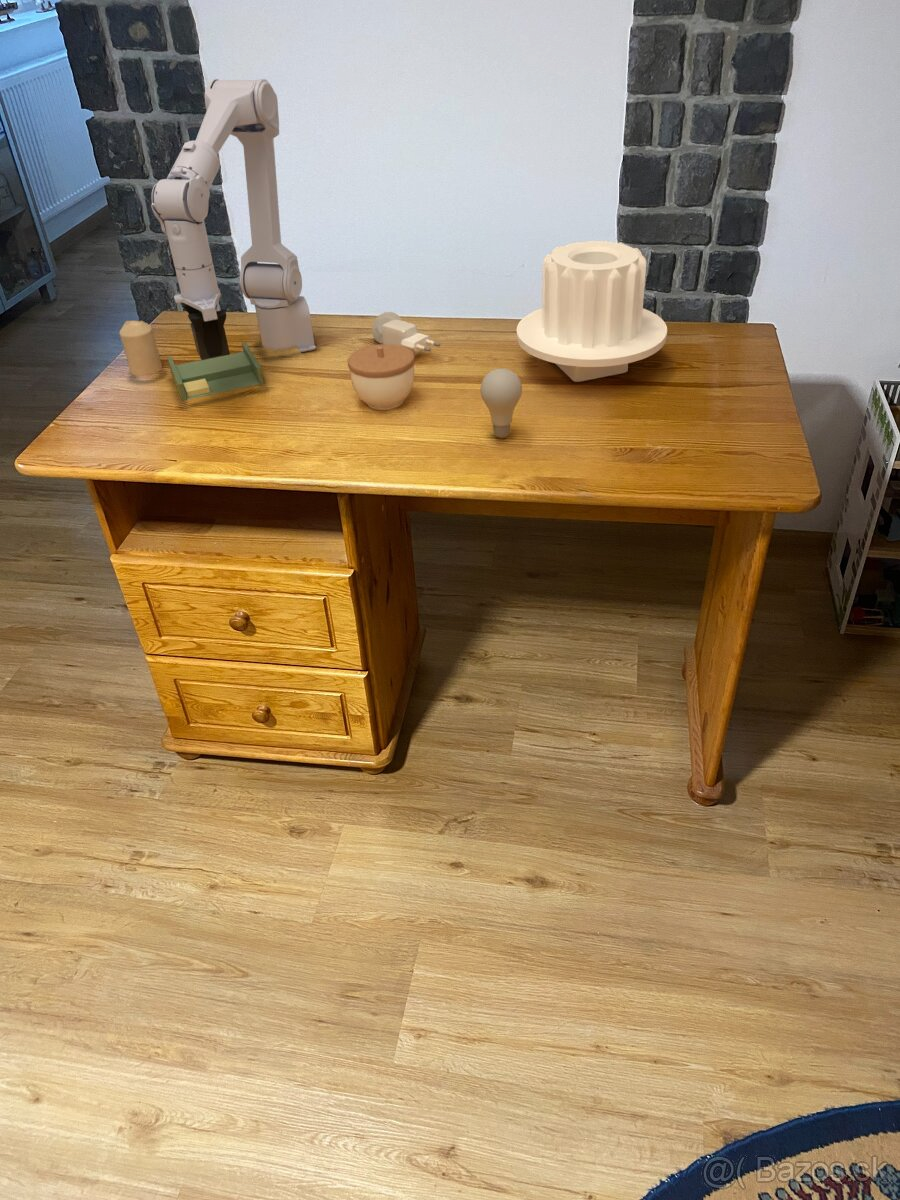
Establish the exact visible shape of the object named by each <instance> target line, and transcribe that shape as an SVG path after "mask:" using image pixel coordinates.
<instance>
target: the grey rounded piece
mask: <svg viewBox="0 0 900 1200" xmlns="http://www.w3.org/2000/svg"><path fill="white" fill-rule="evenodd" d="M394 319H398V320H402V321H403V319H402V318H401V316H400V315H399V314H397V313H395V312H393V311H385V312H382V313H380V314H379V315H378V316H377V317H376V318H375V319H374V321H373V324H372V326H371V332H372V336H373V339H374V340H375V341H376V342H377V343H379V345H381V344H383V337H382V326H383V324H385V323H387V322H389V321H391V320H394Z"/></svg>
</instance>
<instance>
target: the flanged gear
mask: <svg viewBox="0 0 900 1200" xmlns="http://www.w3.org/2000/svg"><path fill="white" fill-rule="evenodd" d="M647 264H648V263H647V258H646V256H644V255H643V253H642V252H641V250H640V249H639V248H638V247H632V246H630V245H627V244H624V243H623V242H621V241H620V242H614V241H606V240H605V241H603V240H600V239H597V240H589V241H588V240H587V241H578V242H577V241H573V242H572V243H568V244H565V245H562V246H556V247H554V248H553V249H552V251H551V253H548V254H546V255H545V257H544V259H543V262H542V286H541V287H542V288H541V289H542V290H541V291H542V293H541V296H542V297H541V307H540V308H538V309H536V310H533V311H532V312H530V313H528V314H526V315H525V316H524V317H523V318H521V319H520V321H519V322H518V324H517V326H516V342H517V344H518V345H519V346H520V348H521V349H522V350H523V351H525V352H526V353H528V354H529V355H531V356H532V357H535V358H536V359H539V360H542V361H546V362H549V363H552V364H555V365H556V366H557V367H558V368H559V369H560V370H561V371H562V372H563V373H564V374H566V376H568V378H570V379H571V380H572V381H573V382H574V383H580V382H587V381H591V380H595V379H600V378H606V377H611V376H616V375H621V374H625V373H627V372H628V371H629V364H631V363H634V362H638V361H641V360H644V359H647V358H649V357H651V356H653V355H654V354H656V353H658V352H659V351H660V350H661V349H662V348H663V347H664V345H665V344H666V342H667V336H668V326H667V324H666V322H665V321H664V319H663V318H661V316H659V315H657V314H656V313H654V312H652V311H651V310H649V309H646V308H644V297H645V288H646V275H647Z"/></svg>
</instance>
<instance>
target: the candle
mask: <svg viewBox="0 0 900 1200" xmlns="http://www.w3.org/2000/svg"><path fill="white" fill-rule="evenodd" d="M119 336H120V340H121V344H122V347H123V350H124V354H125V357H126V360H127V364H128V367H129V371H130V374H131V375H133V376H137V377H144V376H145V377H148V376H152V375H154V374H157V373H159V372H161V371H162V369H163V365H162V361H161V357H160V354H159V350H158V345H157V342H156V338H155V335H154V330H153V327H152V325H150V324H149V323H147V322H145V321H144V320H126V321H125V322H124V323H123V325H122V326H121V328H120V330H119Z"/></svg>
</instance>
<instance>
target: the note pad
mask: <svg viewBox="0 0 900 1200" xmlns="http://www.w3.org/2000/svg"><path fill="white" fill-rule="evenodd" d="M183 385H184V389H185V391H186V394H187V396H188V397H191V396H195V395H200V394H205V393H210V389H209V386H208V384H207V382H206V379H200V380H196V381H191V382H186V383H183Z"/></svg>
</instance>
